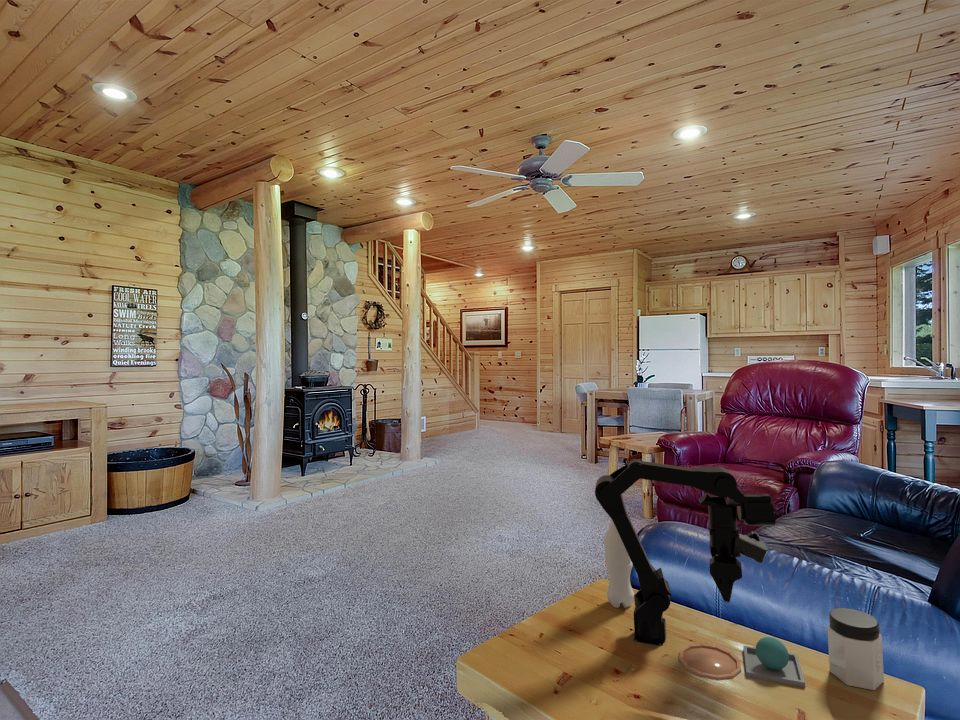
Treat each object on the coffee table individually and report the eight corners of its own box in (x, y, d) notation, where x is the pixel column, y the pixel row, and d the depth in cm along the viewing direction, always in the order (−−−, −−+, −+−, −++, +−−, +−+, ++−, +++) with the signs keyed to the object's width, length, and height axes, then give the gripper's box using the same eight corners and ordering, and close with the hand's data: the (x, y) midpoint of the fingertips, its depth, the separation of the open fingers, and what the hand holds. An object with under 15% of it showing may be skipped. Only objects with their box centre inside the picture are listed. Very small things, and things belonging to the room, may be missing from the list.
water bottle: (608, 610, 135) (603, 515, 135) (606, 597, 142) (601, 507, 142) (636, 611, 133) (631, 515, 133) (632, 598, 141) (628, 507, 141)
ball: (757, 673, 105) (756, 644, 105) (755, 656, 110) (753, 628, 110) (791, 679, 102) (790, 649, 102) (787, 661, 108) (786, 633, 108)
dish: (678, 674, 107) (677, 669, 107) (681, 644, 117) (680, 639, 117) (742, 686, 102) (742, 681, 102) (739, 654, 113) (739, 649, 113)
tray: (746, 679, 104) (746, 671, 104) (743, 652, 113) (743, 645, 113) (805, 690, 100) (805, 682, 100) (797, 661, 109) (797, 654, 109)
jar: (871, 696, 97) (868, 633, 97) (823, 675, 104) (820, 616, 104) (889, 678, 102) (886, 618, 102) (843, 659, 109) (840, 603, 109)
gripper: (767, 541, 104) (771, 618, 104) (759, 514, 121) (762, 580, 121) (707, 536, 109) (711, 609, 109) (708, 511, 126) (711, 574, 126)
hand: (726, 592), depth 116 cm, fingers open, 9 cm apart
